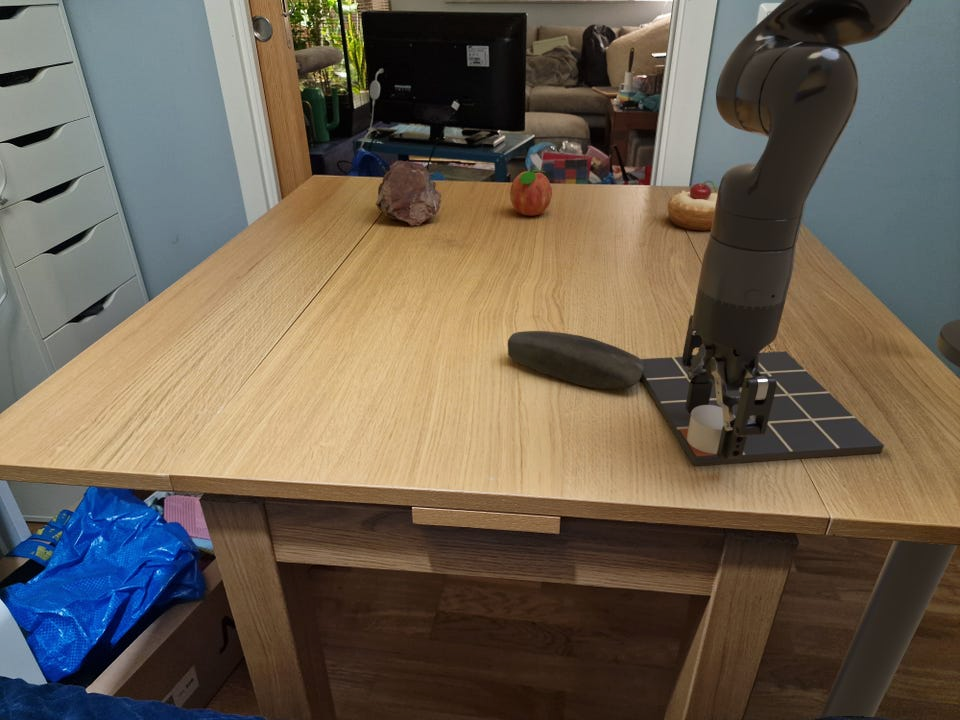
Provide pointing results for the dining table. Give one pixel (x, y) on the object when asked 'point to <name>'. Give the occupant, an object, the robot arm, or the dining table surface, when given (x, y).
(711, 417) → the white short cylinder
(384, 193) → the mineral specimen
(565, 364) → the dark glasses case
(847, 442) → the board
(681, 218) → the pastry
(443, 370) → the dining table surface
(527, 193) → the fruit
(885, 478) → the dining table surface
